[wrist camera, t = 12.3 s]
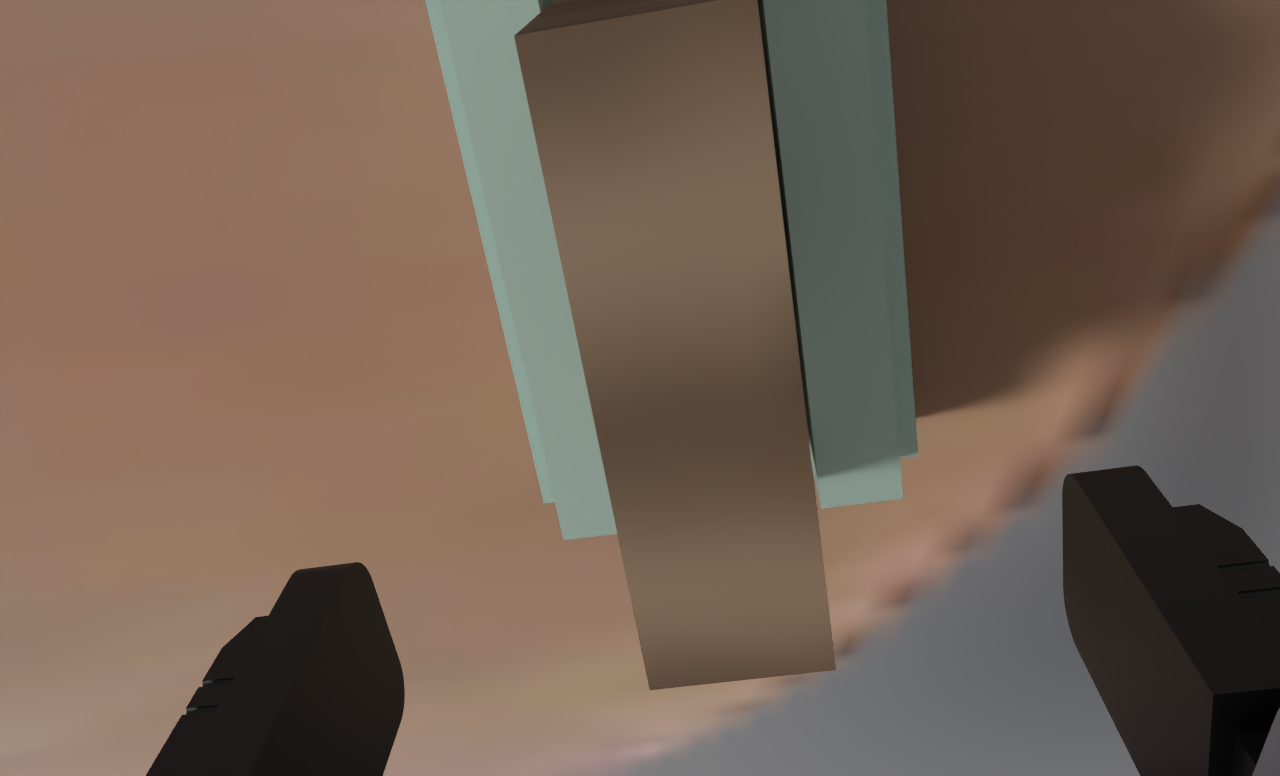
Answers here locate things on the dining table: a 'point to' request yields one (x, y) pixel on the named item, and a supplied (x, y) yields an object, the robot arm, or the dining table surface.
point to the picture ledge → (813, 224)
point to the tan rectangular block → (685, 326)
